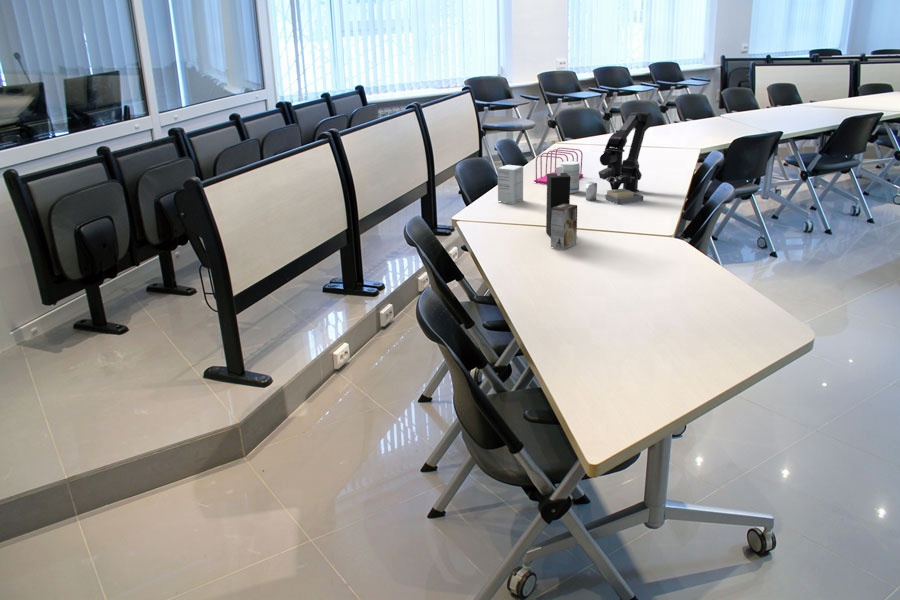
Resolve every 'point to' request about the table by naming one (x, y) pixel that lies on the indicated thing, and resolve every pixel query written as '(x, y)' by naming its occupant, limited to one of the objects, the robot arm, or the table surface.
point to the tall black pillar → (556, 193)
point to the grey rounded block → (591, 191)
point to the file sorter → (544, 178)
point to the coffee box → (563, 226)
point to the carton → (620, 193)
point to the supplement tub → (572, 174)
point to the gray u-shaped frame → (624, 199)
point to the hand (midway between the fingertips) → (614, 194)
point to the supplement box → (510, 184)
